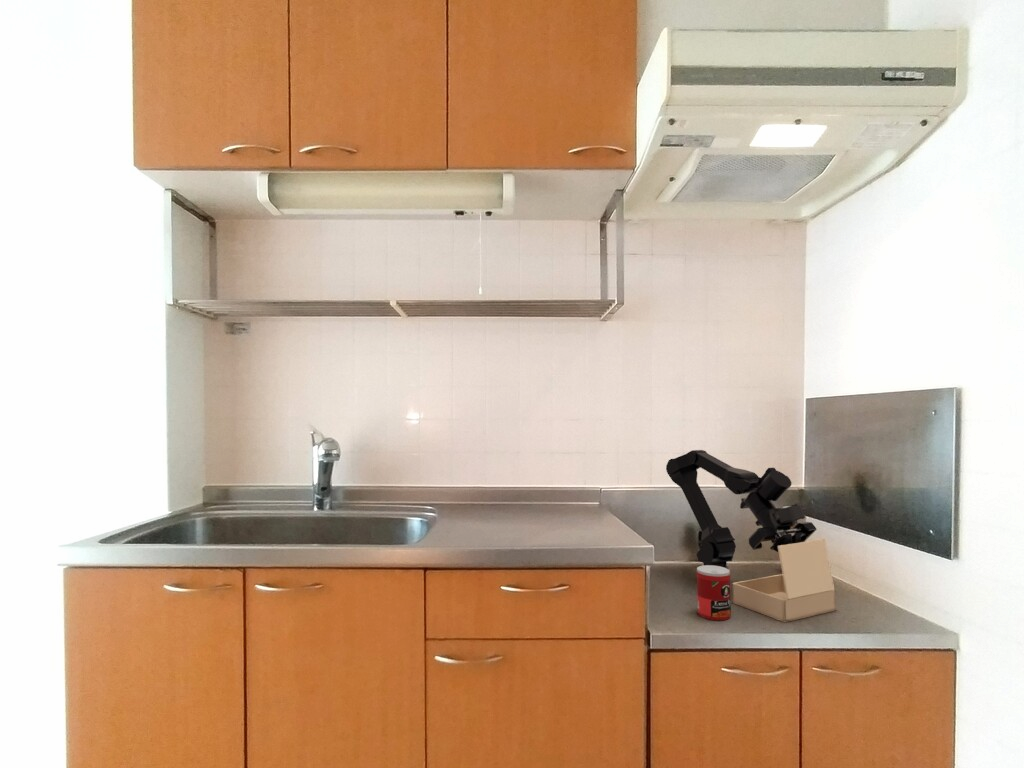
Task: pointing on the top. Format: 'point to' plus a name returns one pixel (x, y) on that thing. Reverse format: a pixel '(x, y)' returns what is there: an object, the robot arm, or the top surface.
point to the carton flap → (805, 568)
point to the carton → (780, 599)
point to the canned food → (713, 592)
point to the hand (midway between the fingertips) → (803, 564)
